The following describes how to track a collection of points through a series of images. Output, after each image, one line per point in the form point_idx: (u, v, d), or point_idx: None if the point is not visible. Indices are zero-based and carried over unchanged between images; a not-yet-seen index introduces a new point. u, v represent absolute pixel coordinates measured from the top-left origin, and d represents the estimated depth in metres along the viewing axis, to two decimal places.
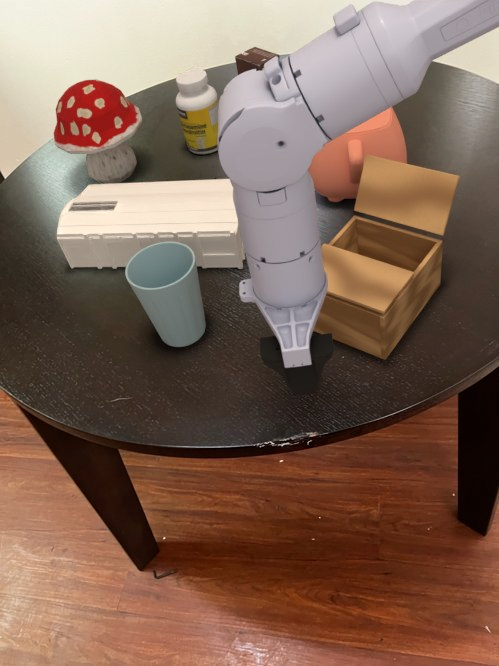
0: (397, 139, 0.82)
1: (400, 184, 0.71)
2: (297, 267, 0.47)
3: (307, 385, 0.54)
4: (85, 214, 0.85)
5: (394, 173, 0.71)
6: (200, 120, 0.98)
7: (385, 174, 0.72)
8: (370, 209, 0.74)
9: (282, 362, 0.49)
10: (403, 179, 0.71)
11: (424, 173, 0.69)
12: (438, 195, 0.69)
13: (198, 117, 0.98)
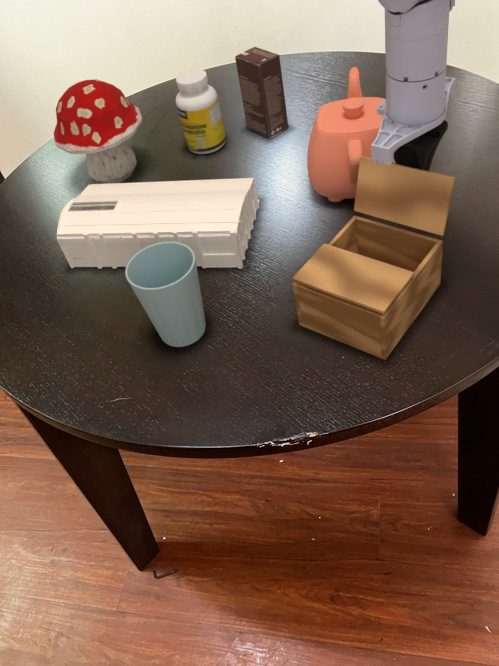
0: None
1: (397, 185, 0.70)
2: (411, 89, 0.61)
3: None
4: (85, 214, 0.85)
5: (390, 175, 0.70)
6: (200, 120, 0.98)
7: (381, 176, 0.71)
8: (369, 210, 0.74)
9: None
10: (399, 181, 0.70)
11: (419, 175, 0.68)
12: (435, 197, 0.68)
13: (198, 117, 0.98)
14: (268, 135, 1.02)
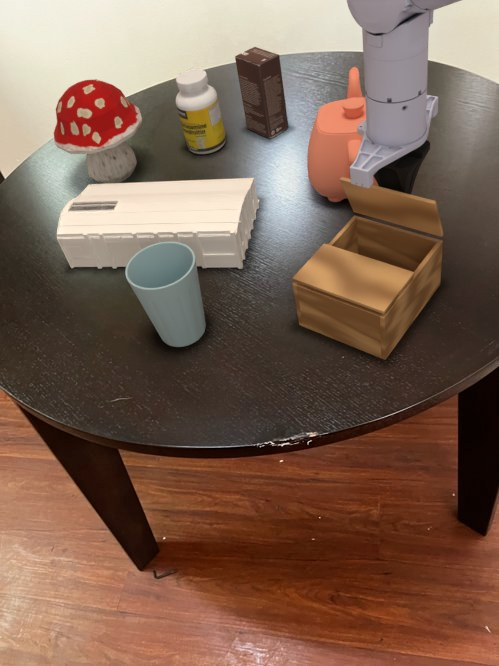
0: None
1: (384, 201, 0.69)
2: (390, 110, 0.60)
3: None
4: (85, 214, 0.85)
5: (374, 194, 0.69)
6: (200, 120, 0.98)
7: (366, 194, 0.70)
8: (367, 213, 0.73)
9: None
10: (384, 199, 0.68)
11: (401, 198, 0.66)
12: (423, 213, 0.67)
13: (198, 117, 0.98)
14: (268, 135, 1.02)
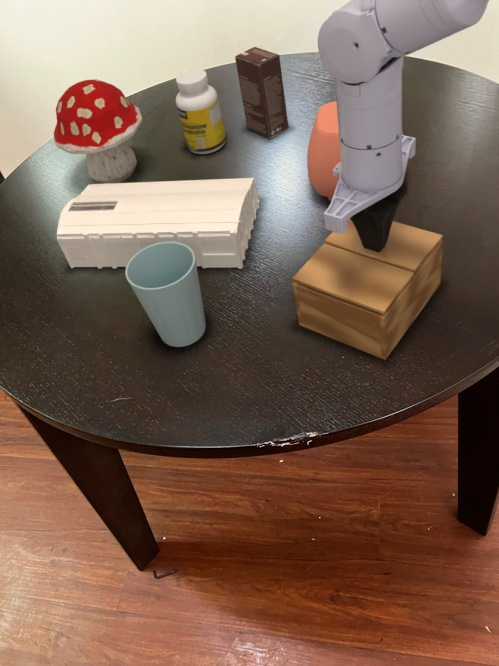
0: None
1: None
2: (364, 157, 0.59)
3: (372, 242, 0.68)
4: (85, 214, 0.85)
5: None
6: (200, 120, 0.98)
7: None
8: None
9: None
10: None
11: None
12: None
13: (198, 117, 0.98)
14: (268, 135, 1.02)
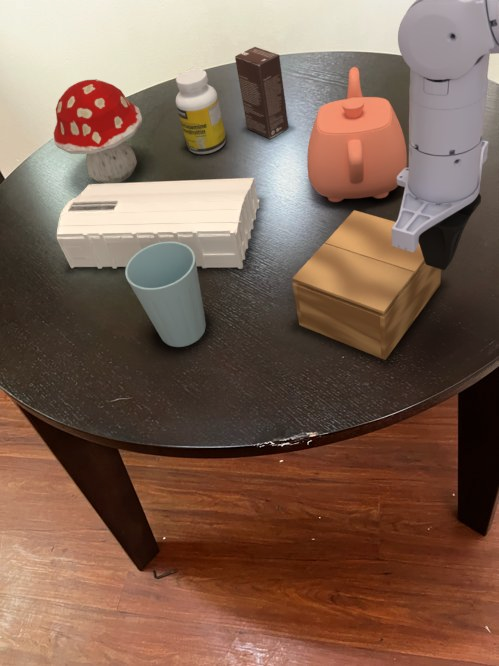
0: (397, 139, 0.82)
1: None
2: (440, 164, 0.51)
3: (437, 259, 0.61)
4: (85, 214, 0.85)
5: None
6: (200, 120, 0.98)
7: None
8: None
9: None
10: None
11: None
12: None
13: (198, 117, 0.98)
14: (268, 135, 1.02)
